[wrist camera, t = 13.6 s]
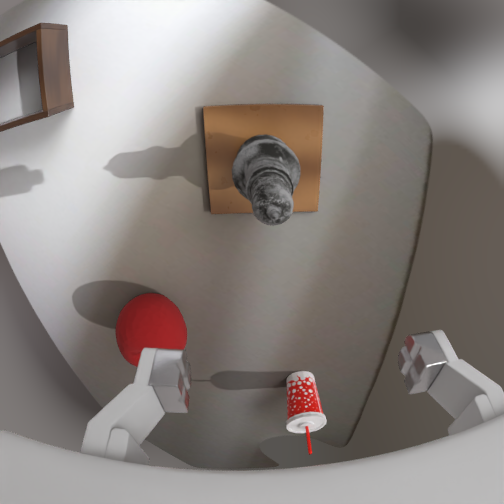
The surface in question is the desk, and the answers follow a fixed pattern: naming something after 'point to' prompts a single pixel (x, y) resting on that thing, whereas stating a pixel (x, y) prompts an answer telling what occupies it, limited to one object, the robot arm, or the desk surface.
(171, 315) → the apple
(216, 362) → the desk surface
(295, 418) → the beverage cup
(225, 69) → the desk surface
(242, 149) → the grey stone turned piece
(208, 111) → the trivet
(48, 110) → the open wooden box
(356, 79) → the desk surface
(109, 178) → the desk surface
